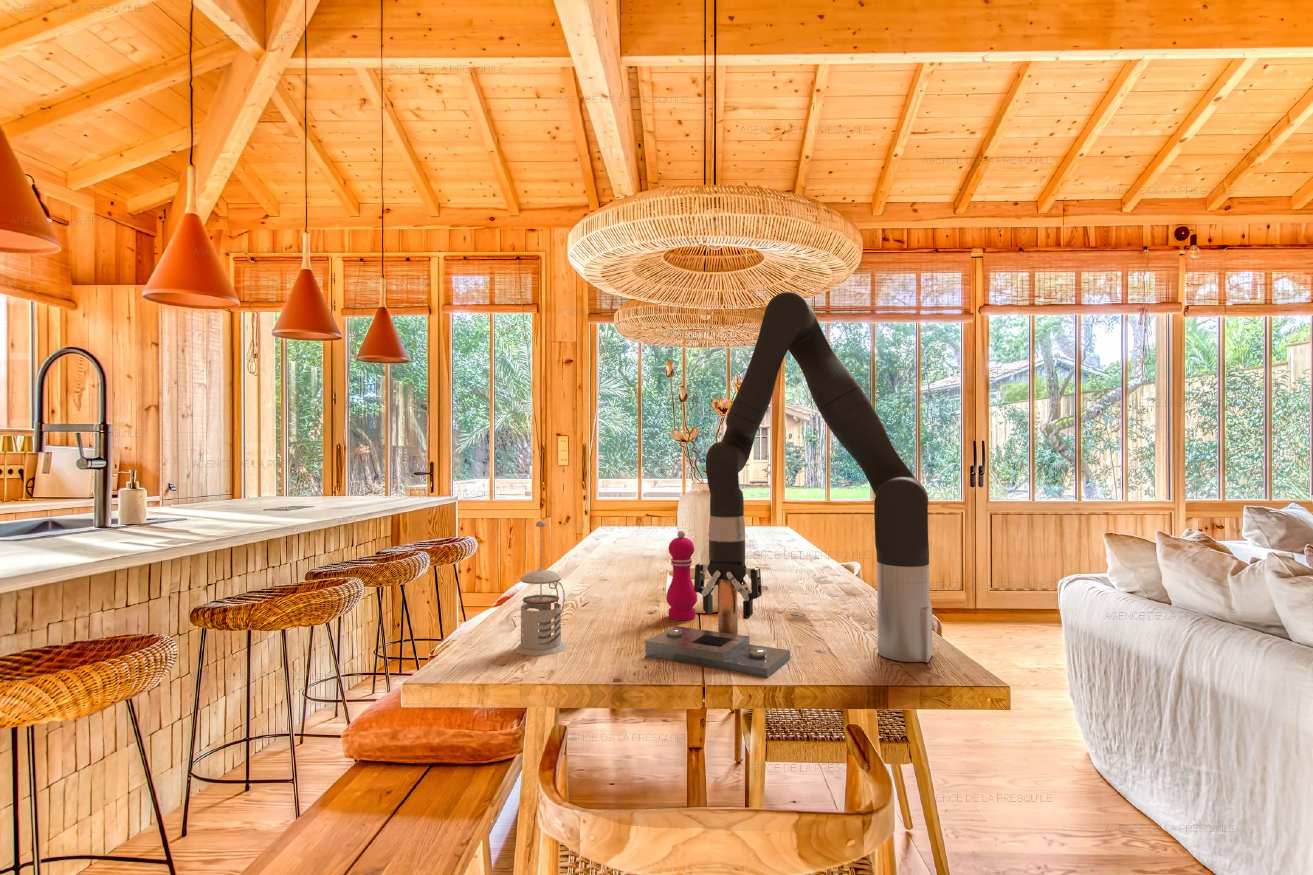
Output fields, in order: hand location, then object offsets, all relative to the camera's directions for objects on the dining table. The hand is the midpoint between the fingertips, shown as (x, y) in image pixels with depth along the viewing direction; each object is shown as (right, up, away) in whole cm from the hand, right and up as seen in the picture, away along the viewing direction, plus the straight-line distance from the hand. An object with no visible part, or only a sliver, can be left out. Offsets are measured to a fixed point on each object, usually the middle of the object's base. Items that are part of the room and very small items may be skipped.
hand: (727, 615), depth 137 cm
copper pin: (0, -4, 0) cm, 4 cm away
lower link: (-1, -4, -16) cm, 16 cm away
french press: (-37, -5, -7) cm, 38 cm away
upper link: (-7, -4, -12) cm, 15 cm away
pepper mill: (-9, -5, +17) cm, 19 cm away
